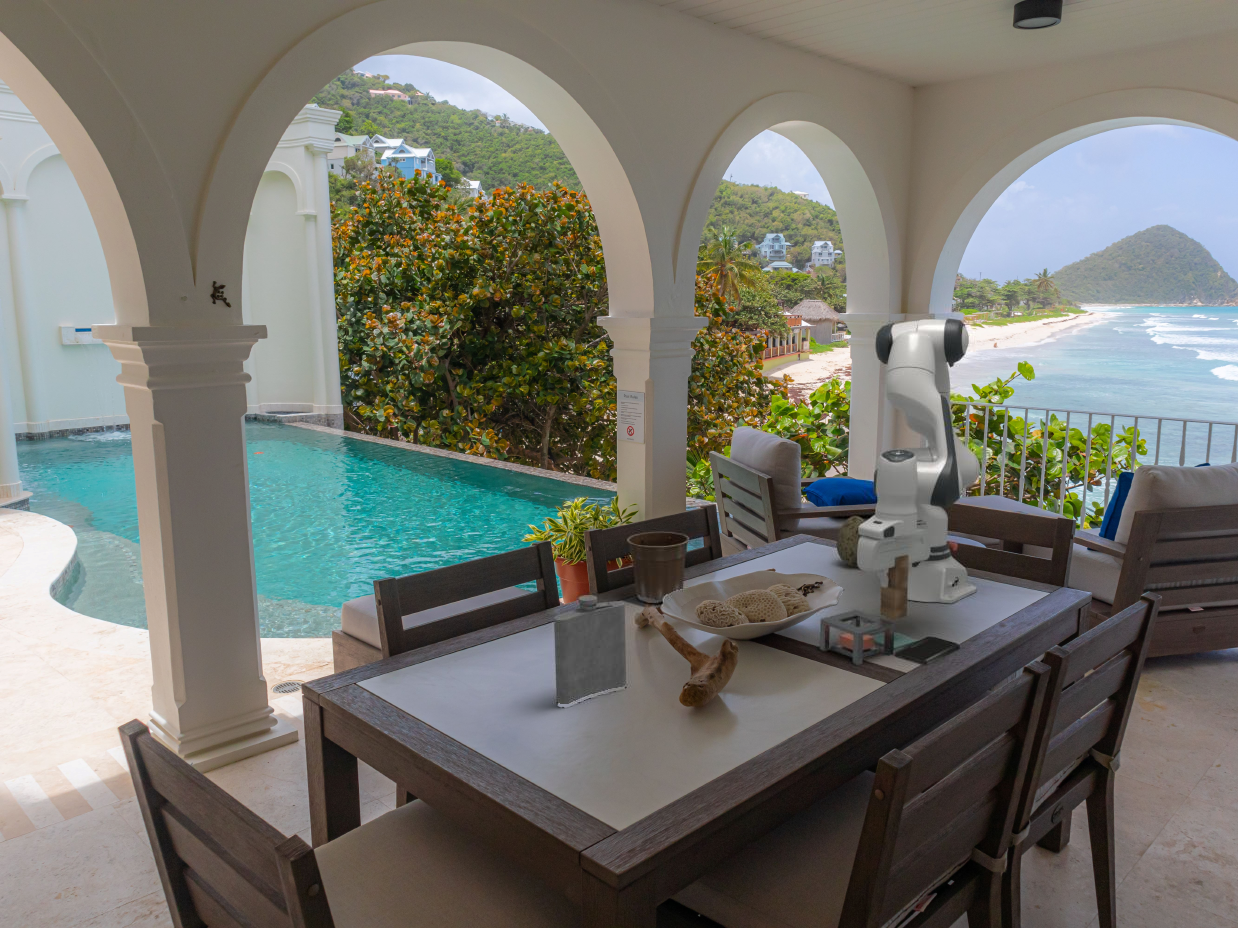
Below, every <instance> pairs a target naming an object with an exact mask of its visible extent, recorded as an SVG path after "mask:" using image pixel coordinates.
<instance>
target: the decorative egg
mask: <svg viewBox="0 0 1238 928" xmlns="http://www.w3.org/2000/svg"><path fill="white" fill-rule="evenodd" d="M865 521H866V520H865V519H864V518H862V517H860V516H857V515H853V516H850V517H849V518H847V519H846V520H845V521H844V523H843V524H842V526H841V527H840V529H839V530H838V534H837V538H836V551H837V554H838V556H839V558H840V560H842V562H843V563H844V564H846V565H847V566H850V567H854V568H859V567H858V565H857V549H858V541H859V539H860V537H861V536H862V535H861V534H859V532H858V528H859V526H860V525H861V524H862V523H864V522H865Z"/></svg>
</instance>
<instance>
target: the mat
mask: <svg viewBox="0 0 1238 928" xmlns="http://www.w3.org/2000/svg"><path fill="white" fill-rule="evenodd" d="M884 635H885V631H883V632H880V633H876V634H873V635H871V636H872V637H874V644H877V645H880V646H882V647H884ZM917 641H919V639H916V638H913V637H912V636H911V637H910V636H908V635H906V634H905V635H904V634H903V633H899V632H897V631H894V651H897V650H899V649H902V648H904V647H906V646H908V645H910V644H913V643H915V642H917Z"/></svg>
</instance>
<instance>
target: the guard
mask: <svg viewBox="0 0 1238 928" xmlns="http://www.w3.org/2000/svg"><path fill="white" fill-rule="evenodd" d="M849 621H851V622H850V623H847V622H849ZM861 621H862V622H865V623H868V624H865V625H861ZM819 625H820V628H819V629H820V633H819V636H820V638H819V650H820V651H823V652H827V651H830V635H831V633H830V630H831V628H834V629H836V630H839V631H842V632H843V633H849V634H852V635H853V650H851V649H849V648H846V647H844V646H841V645H839V644H838V645H835V646H834V652H835V651H836V652H839V653H841V654H843V655H846V656H847V657H851V658H852V664H854V665H855V666H856V665H857V666H860V665H862V664H863V658H867V657H870V656H872V655H877V654H879V648H877V647H875V646H874V647H872V648H868V649H865V650H863V636H864V635H870V634H874V633H877V632H881V631H884V632H885V635H884V646H883V654H884V655H887V656H891V655H894V653H895V650H894V632H895V622H892V621H889V620H886V619H884V618H881V617H878V616H876V615H875V616H874V615H873V614H870V613H867V612H864V611H860V610H858V609H854V610H848V611H846V612H842V613H837V614H834V615H831V616H828V617H823V618H820V623H819ZM830 627H831V628H830Z"/></svg>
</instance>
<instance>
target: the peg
mask: <svg viewBox="0 0 1238 928" xmlns="http://www.w3.org/2000/svg"><path fill="white" fill-rule="evenodd" d="M908 562H909V555H905V556H901V557H896V558H895V567H892V568H889V570H888V573H887V576H888V579H891V586H890V587H887V588H884V587H880V616H883V617H886V618H889V619H892V620H897V619H898V620H899V619H901V618H905V617H907V616H908V599H907V594H908Z"/></svg>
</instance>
